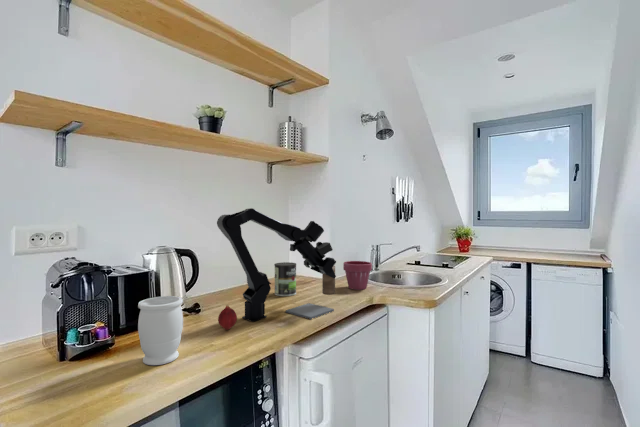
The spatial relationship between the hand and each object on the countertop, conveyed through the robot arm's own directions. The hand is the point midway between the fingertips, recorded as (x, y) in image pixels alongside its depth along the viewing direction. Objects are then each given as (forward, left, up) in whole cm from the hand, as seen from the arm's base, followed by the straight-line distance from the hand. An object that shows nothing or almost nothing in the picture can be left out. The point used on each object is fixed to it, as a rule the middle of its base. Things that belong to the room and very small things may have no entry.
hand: (331, 276), depth 133 cm
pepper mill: (-1, +1, -7) cm, 7 cm away
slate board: (-13, +1, -12) cm, 17 cm away
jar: (-67, +3, -12) cm, 68 cm away
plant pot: (+33, +10, -12) cm, 36 cm away
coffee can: (+1, +29, -12) cm, 31 cm away
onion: (-44, +8, -12) cm, 46 cm away
